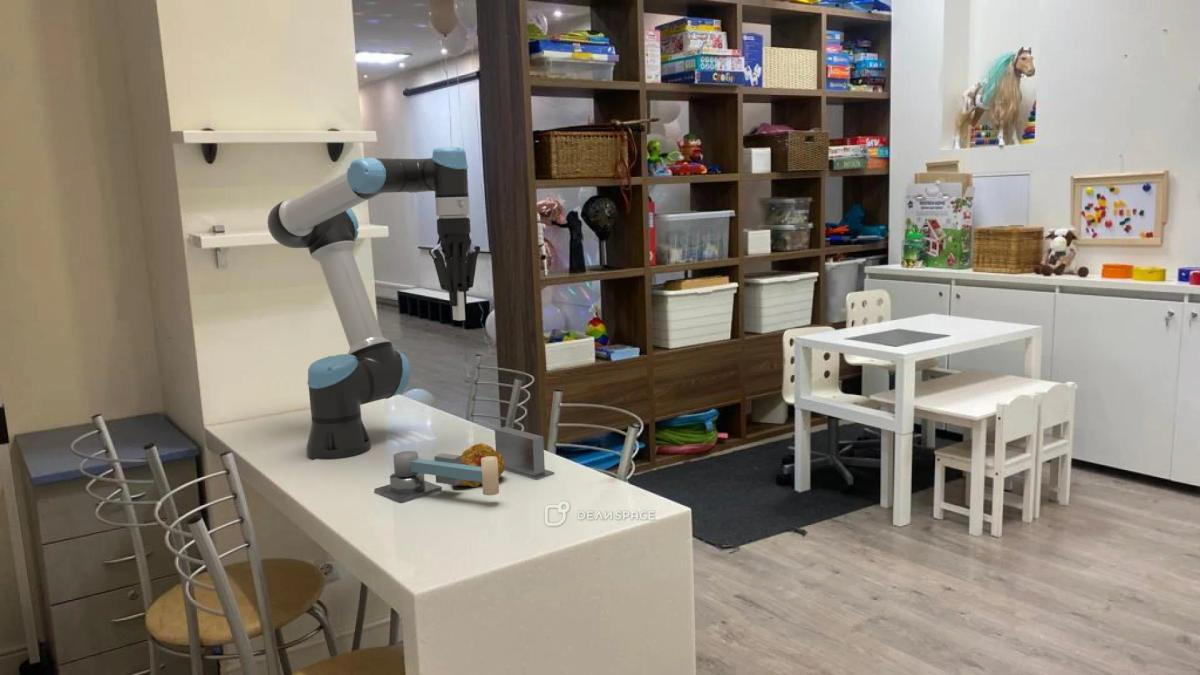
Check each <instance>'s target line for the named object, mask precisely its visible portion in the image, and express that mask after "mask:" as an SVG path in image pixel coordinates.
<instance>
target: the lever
mask: <svg viewBox="0 0 1200 675" xmlns="http://www.w3.org/2000/svg"><path fill="white" fill-rule="evenodd" d="M392 456H393V457H392V458H393V468H394V471H393V472H394V473H395V475H396V476H398V477H409V476H414V475H416V474H418V473H423V474H424V475H431V476H435V484H436V483H437V484H443V485H444V484H445V485H451V486H453V485H457V486H459V485H458V484H460V483H462V482H463V479H464V480H471V481H477V482H482V484H481V485H482V494H483V495H484V496H495V495H499V493H500V482H499V479H500V478H499V479H498V460H497V457H495V456H487V457H483V458H481V467H478V466H471V465H463V464H462V462H461V455H459V454H451V453H444V452H440V453H439V454H437V455H435V456H433V457H434V460H432V459H428V458H427V459H426V458H421V457H419V453H418V452H417V451H414V450H406V451H405V450H404V451H399V452H396V453H394V454H393V455H392Z"/></svg>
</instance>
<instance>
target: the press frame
mask: <svg viewBox="0 0 1200 675" xmlns="http://www.w3.org/2000/svg"><path fill="white" fill-rule="evenodd" d="M494 438H495V444H494V445H495V451H496V452H497V453H499V454H501V456H502V457H503V459H504V461H505V462H504V470H503V471H505V472H509V473H513V474H515V475H518V476H523V477H525V478H528V479H532V480H536V481H538V480H542V479H544V478H547V477H551V476H552V475H555V471H552V470H549V469H546V468H545V466H546V464H545V448H544V447H545V446H544V445H545V444H544V441H545V440H544V436H542V435H538V434H535V433H531V432H527V431H525V430H524V431H523V430H520V429H515V428H513V427H507V426H503V427H499V428H496V429H494ZM442 488H443V487H442V486H440V485H438V484H436V483H433V482H430V481H427V480H425V474H423V473H418V474H416V475H414V476H409V477H398V476H396V475H395V472H394V473H392V474H390V475H389V484H386V485H382V486H379V487H376V488H373V490H374V493H375V494H377V495H378V496H379V495H380V496H382V497H384V498H387V499H390V500H392V501H395V502H397V503H400V504H402V503H405V502H406V503H407V502H409V501H412V500H415V499H419V498H422V497H426V496H429V495H433V494H435V493H438V492H441V491H443V489H442Z"/></svg>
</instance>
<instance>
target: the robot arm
mask: <svg viewBox="0 0 1200 675" xmlns="http://www.w3.org/2000/svg"><path fill="white" fill-rule="evenodd" d="M466 154H467V153H466V150H465V149H464V148H462V147H451V146H450V147H436V148H434V149H433V150H432V156H431V158H430V157H429V158H385V157H384V158H381V157H379V158H378V157H377V158H376V157H369V156H368V157H364V158H355V159H354V160H352V161H351V162H350V165H349V166H348V167H347V171H346V172H344V173H343V174H341V175H339V176H337V177H335V178H332V179H331V180H330V181H329V180H328V182H325V183H324V184H322V185H320V186H318V187H316V188H314V189H312V190H311V191H308V192H307V193H304V194H303V195H301V196H299V197H289V198H286V199H284V200H282V201H281V202H279V203H277V204H276V205H275V206H274V207H273V208H272V209H271V210H270V212H269V214H268V217H267V228H268V231H269V233H270V235H271V236H272V238H273V239H274V240H275V241H276V242H277V243H279V244H280V245H281V246H284V247H287V248H291V249H304V248H305V249H306V248H307V249H308V251H309V254H310V257H311V259H312V260H315V261H317V262H318V263H319V264H320V267H321V270H322V273H323V276H324V277H325V281H326V284H327V286H328V289H329V292H330V295H331V298H332V300H333V303H334V304H333V305H334V307H335V310H336V312H337V314H338V317H339V320H340V323H341V326H342V328H343V331H344V335H345V337H346V340H347V343H348V346H349V350H348V352H347V353H345V354H344V353H343V354H341V353H340V354H337V355H330V356H329V355H328V356H325V357H322V358H319V359H317V360H315V361H313V362H312V363H311V364H310V365H309V367H308V370H307V387H308V394H309V395H308V396H309V404H310V405H309V406H310V415H311V416H310V417H311V426H310V427H311V428H310V431H309V434H308V440H307V443H306V457H307V458H309V459H310V460H325V461H326V460H327V461H328V460H329V461H330V460H332V461H333V460H340V459H348V458H353V457H356V456H359V455H363V454H365V453H367V452H369V451H370V450H371V449H372V443H371V439H370V436H369V434H368V431H367V428H366V427H365V425H364V422H363V420H362V412H361V411H362V410H361V409H362V408H361V407H362V406H361V405H365V404H369V403H373V402H377V401H380V400H385V399H386V400H387V399H390V398H393V397H395V396H398V395H401V394H402V393H403V392H404V391H405V390H406V389H407V387H408V385H409V381H410V378H411V366H410V363H409V358H407V356H406V355H405V354H404V353H403V352H402V351H401V350H398V349H394V347H393V344H392V341H391V340H389V339H387V338H385V337H384V336H383V333H382V331H381V328H380V325H379V322H378V320H377V317H376V315H375V311H374V309H373V306H372V303H371V301H370V297H369V295H368V292H367V289H366V286H365V284H364V280H363V278H362V275H361V272H360V269H359V267H358V264H357V261H356V258H355V256H354V249H355V248H356V246H357V245H356V240H357V238H358V235H359V230H358V229H359V221H358V218H357V216H356V213H355V212H354V210H352V208H353V207H356V206H358V205H360V204H362V203H364V202H366V201H368V200H369V199H372V198H375V197H376V196H379V195H380V194H386V193H391V194H392V193H419V192H420V193H423V192H434V195H435V196H434V199H435V200H434V201H435V215H436V217H438V218H437V219H436V229H437V230H436V232H437V236H438V240H437V245H436V246H435V247H434V248H429V250H428V254H429V255H430V256H431V258H432V260H433V264H434V268H435V271H436V274H437V278H438V281H439V286H440V289H441V290H442V291H446V292H448V297H449V298H448V299H449V300H448V301H449V306H450V307H452V320H454V321H459V322H460V321H466V310H465V309H466V308H465V305H467V302H468V301H467V292H469V291H470V288H473V287H474V282H475V277H476V276H475V275H476V268H477V260H478V255H479V253H480V251H481V246H479V245H475V244H474V243H472V239H471V236H470V234H471V231H472V230H471V218H469V217H468V216H469V215H470V213H471V212H470V198H469V195H470V194H469V181H468V176H469V174H468V168H469V166H468V161H467V160H468V159H467V155H466Z"/></svg>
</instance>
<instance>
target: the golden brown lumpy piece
mask: <svg viewBox="0 0 1200 675" xmlns="http://www.w3.org/2000/svg"><path fill="white" fill-rule="evenodd" d="M460 456H461V462H462V464H463V465H471V466H478V467H481V458H483V457H487V456H495V457H497V460H498V479H500V478H501V476H502V474H503V472H504V471H505V470H504V462H505V461H504V459H503V457H502V456H501V454H499V453H497V452H496V449H494V448H493V447H492V446H490V445H488V444H486V443H483V442H480V443H477V444H474V445H472V446H470V447H469V448H468V449H466V450H464V451H463V452H462V454H461V455H460ZM480 485H482V482H477V481H471V480H464V479H463V482H462V483H460V484H458V485H452V486H453V487H457V486H460V487H461V486H463V487H466V486H470V487H471V488H472V487H473V488H475V487H479V486H480Z"/></svg>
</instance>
